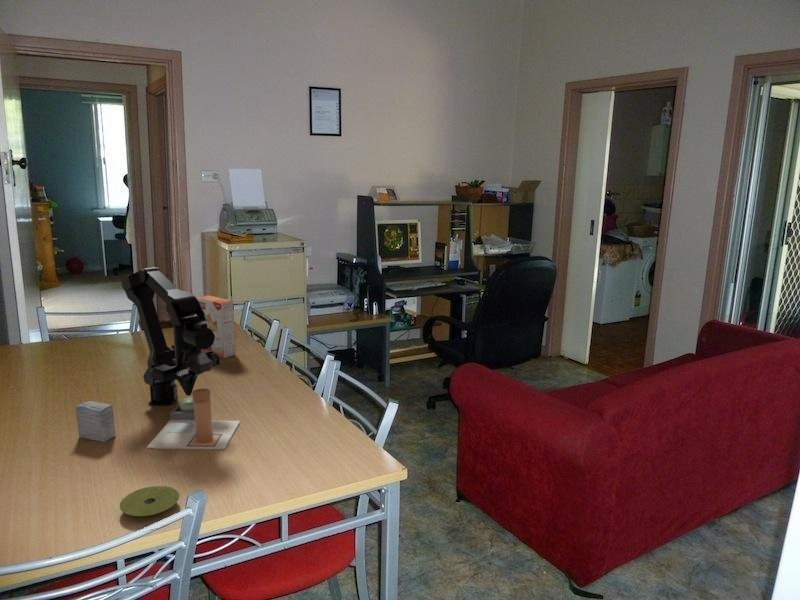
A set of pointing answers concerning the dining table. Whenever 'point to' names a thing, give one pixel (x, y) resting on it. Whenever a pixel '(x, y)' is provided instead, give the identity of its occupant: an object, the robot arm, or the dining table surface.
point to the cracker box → (219, 324)
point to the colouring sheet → (193, 435)
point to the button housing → (181, 414)
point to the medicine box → (95, 421)
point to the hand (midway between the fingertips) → (188, 395)
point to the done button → (187, 405)
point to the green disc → (149, 500)
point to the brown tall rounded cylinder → (202, 415)
